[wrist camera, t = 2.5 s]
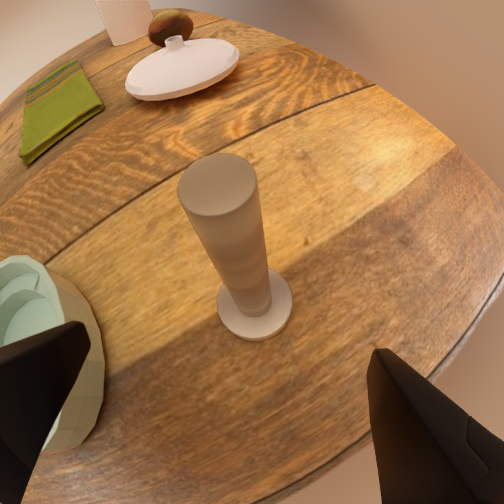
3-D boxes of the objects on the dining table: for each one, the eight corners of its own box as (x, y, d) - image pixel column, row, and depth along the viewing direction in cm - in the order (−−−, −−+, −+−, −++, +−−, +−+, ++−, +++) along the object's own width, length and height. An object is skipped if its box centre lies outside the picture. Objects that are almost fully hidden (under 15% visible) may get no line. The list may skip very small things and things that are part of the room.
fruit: (201, 43, 39) (192, 6, 32) (156, 59, 39) (144, 22, 31) (191, 34, 43) (183, 2, 35) (151, 48, 42) (141, 16, 35)
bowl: (132, 452, 15) (93, 465, 11) (9, 445, 14) (-26, 445, 10) (98, 255, 22) (65, 227, 18) (-5, 299, 21) (-35, 283, 17)
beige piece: (301, 327, 18) (337, 227, 7) (232, 350, 18) (142, 290, 6) (278, 264, 20) (270, 110, 9) (213, 285, 20) (131, 154, 8)
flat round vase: (132, 130, 29) (110, 84, 23) (132, 79, 36) (118, 45, 30) (259, 89, 30) (253, 39, 24) (225, 48, 37) (218, 12, 31)
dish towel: (79, 63, 47) (74, 54, 44) (107, 108, 33) (99, 91, 30) (28, 100, 44) (23, 91, 41) (25, 171, 30) (14, 158, 27)
